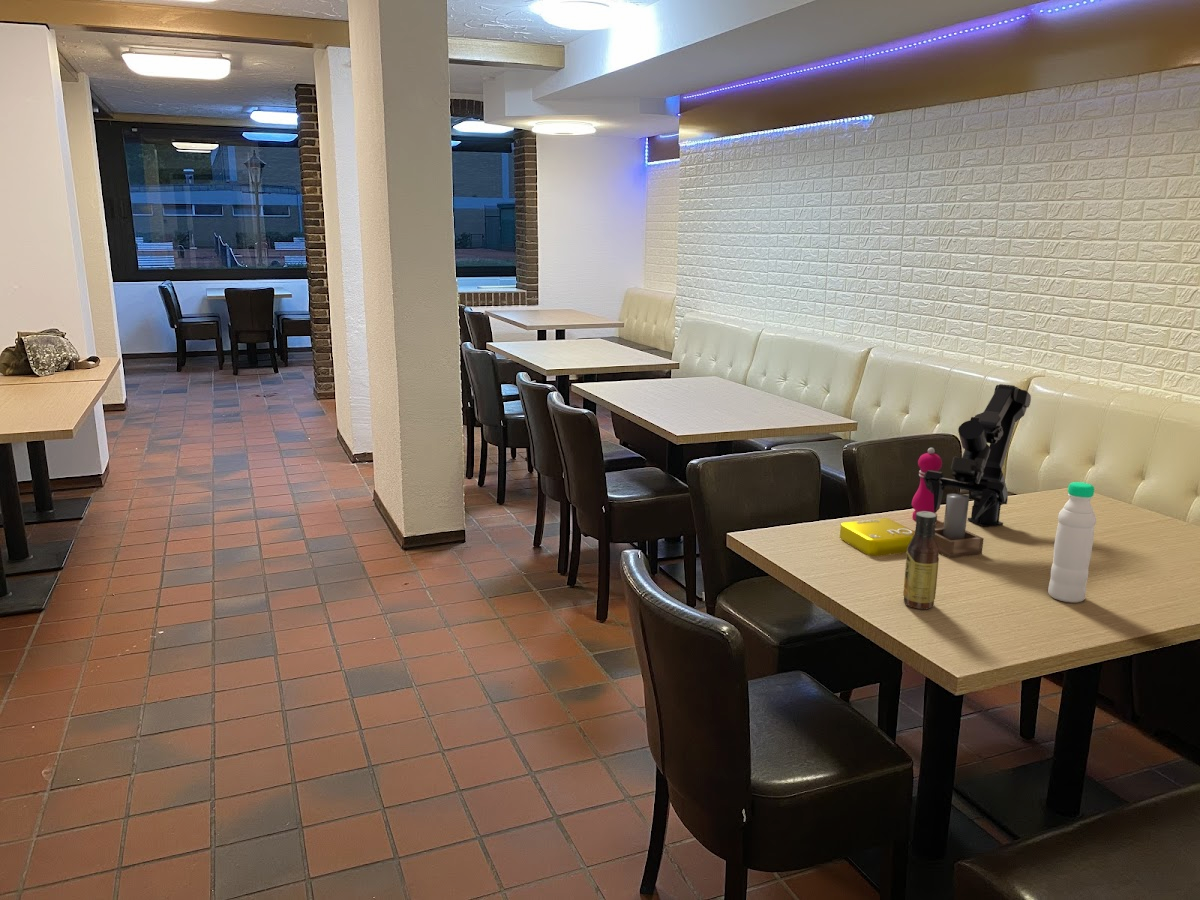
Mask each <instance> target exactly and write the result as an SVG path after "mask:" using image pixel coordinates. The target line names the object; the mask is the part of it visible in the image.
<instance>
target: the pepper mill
mask: <svg viewBox="0 0 1200 900" xmlns="http://www.w3.org/2000/svg"><path fill="white" fill-rule="evenodd" d="M935 452H936V451H935V448H934V447H929V448H928V449H927V452H926V453H923V454H921V455H920V457H919V459H918V460H917V466H918V467H919V469H920V470H919V471H918V476H919V478H920V479H919V480H920V481H919V486H918V488H917V491H916V492H915V494H914V495H913V498H912V500H911V507H912V508H913V509H914V510H913V511H912V517H911V519H912V520H913V521H915V522H916V519H915V518H916V513H917V512H921V511H928V512H933V513H935V512H934V494H933V493H931V491H930V490H928V489H927V488H926V485H925V482H924V479H923V477H924V475H925V472H927V471H928V470H932V471H938V472H939V470H940V469H941V468H942V466H943V460H942V457H940V455H939V454H936V453H935ZM940 507H941V505H940V506H939V509H938V511H939V510H940V509H941V508H940ZM935 514H936V515H937V516H938V514H937V512H936V513H935Z"/></svg>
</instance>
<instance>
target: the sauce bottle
mask: <svg viewBox="0 0 1200 900" xmlns="http://www.w3.org/2000/svg"><path fill="white" fill-rule="evenodd" d="M936 514H937V513H936ZM936 514H935V513H933V512H928V511H921V512H917V513H916V518H915V519H916V521H915V530H914V531H915V534H914V536H913V538H912V540H911V542H910V544H909V546H908V548H907V553H906V558H905V568H904V580H903V581H904V582H903V593H902V594H903V595H902V596H903V602H904V604H905V605H906V606H908V607H910V608H913V609H918V610H927V609H930V608H933V606H935V605H934V603H935V599H936V594H937V593H936V592H937V581H938V572H939V561H940V559H939V554H940V553H939V545H938V543H937V541H936V539H935V537H934V535H935V529H936V523H937V521H938V514H937V515H936Z"/></svg>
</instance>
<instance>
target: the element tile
mask: <svg viewBox="0 0 1200 900" xmlns="http://www.w3.org/2000/svg"><path fill="white" fill-rule="evenodd" d="M839 530H840V531H839V539H840V538H841V539H842V540H841V539H840V540H841V541H843V540H844V541H845V542H844V541H843V542H844V543H846V542H847V543H846V544H848V543H849V544H850V546H851V545H852V546H851V547H853V546H854V547H853V548H855V549H856V548H857V549H856V550H858V549H859V550H858V551H859V552H860V551H861V553H863V554H865V555H867V554H868V556H872V557H880V556H881V555H882V556H888V555H889V556H891V555H899V554H907V548H908V546H909V544H910V542H911V540H912V538H913V536H914V534H915V530H913V529H912V528H909V527H907V526H905V525H904V524H901V523H899V522H897V521H895V520H893V519H891V518H886V517H884V518H874V519H866V520H864V519H863V520H854V521H845V522H841V523H840V529H839ZM849 544H848V545H849ZM890 554H891V555H890Z"/></svg>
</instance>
